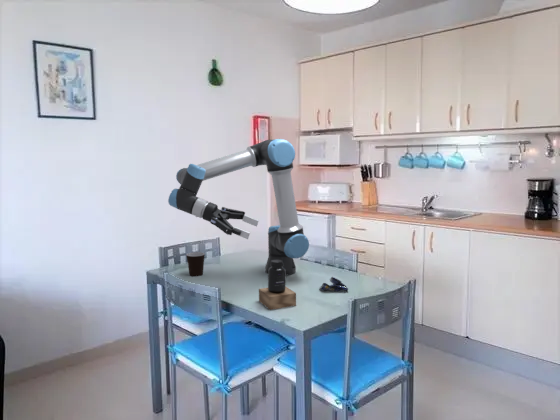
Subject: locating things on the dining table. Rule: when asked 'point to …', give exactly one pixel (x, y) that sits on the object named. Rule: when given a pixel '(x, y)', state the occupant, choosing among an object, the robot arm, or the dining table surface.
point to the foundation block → (277, 298)
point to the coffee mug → (195, 263)
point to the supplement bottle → (276, 277)
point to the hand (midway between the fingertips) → (253, 229)
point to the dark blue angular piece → (335, 285)
